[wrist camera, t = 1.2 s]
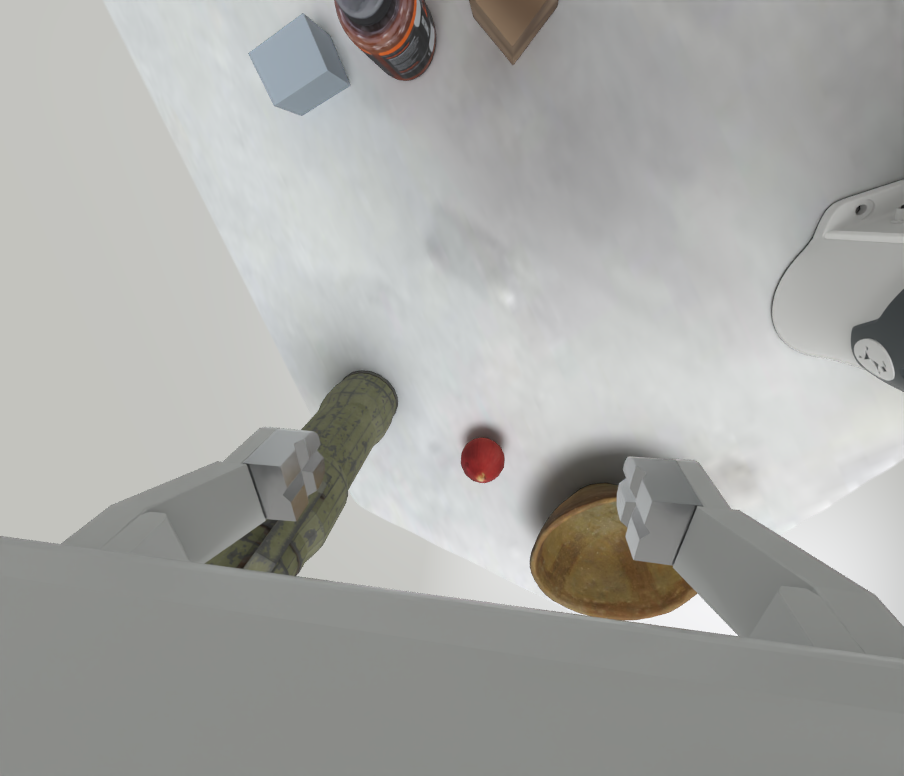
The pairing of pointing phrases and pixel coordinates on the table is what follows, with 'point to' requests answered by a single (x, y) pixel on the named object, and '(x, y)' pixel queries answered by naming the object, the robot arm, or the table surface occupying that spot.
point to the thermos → (344, 450)
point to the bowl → (601, 562)
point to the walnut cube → (512, 22)
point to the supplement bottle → (391, 33)
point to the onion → (482, 460)
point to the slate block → (299, 66)
